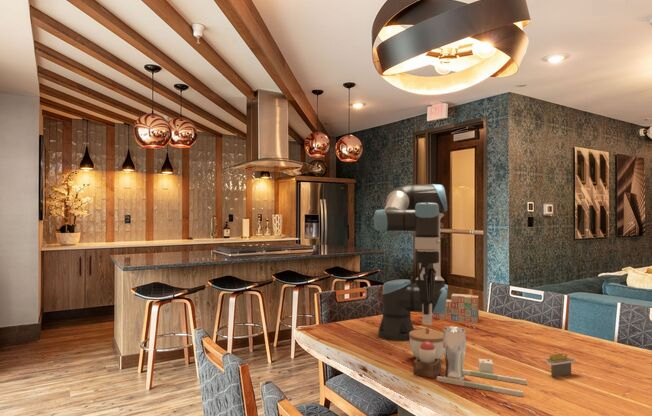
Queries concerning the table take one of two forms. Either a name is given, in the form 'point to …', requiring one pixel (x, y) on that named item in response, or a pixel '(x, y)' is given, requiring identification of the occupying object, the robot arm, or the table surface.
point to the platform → (560, 364)
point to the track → (484, 386)
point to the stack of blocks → (460, 309)
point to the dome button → (427, 353)
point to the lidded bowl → (426, 335)
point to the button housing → (427, 368)
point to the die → (486, 366)
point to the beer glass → (454, 352)
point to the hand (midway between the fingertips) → (427, 323)
